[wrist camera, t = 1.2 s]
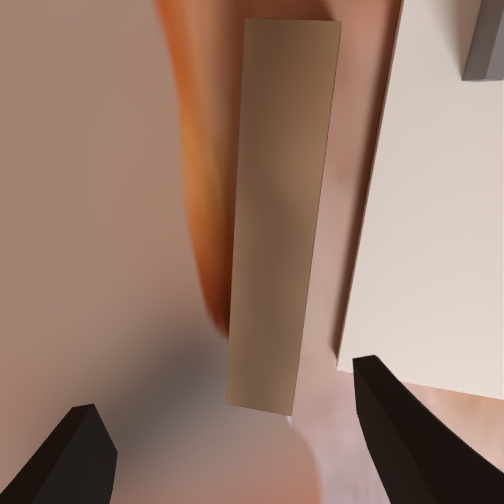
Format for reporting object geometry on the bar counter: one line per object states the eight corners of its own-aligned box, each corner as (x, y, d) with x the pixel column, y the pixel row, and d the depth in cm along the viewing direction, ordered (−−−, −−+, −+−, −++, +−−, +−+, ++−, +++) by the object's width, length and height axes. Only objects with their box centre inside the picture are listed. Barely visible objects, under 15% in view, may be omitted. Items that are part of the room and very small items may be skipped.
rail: (340, 36, 19) (341, 21, 15) (299, 363, 25) (291, 416, 21) (264, 33, 19) (244, 17, 15) (243, 354, 26) (225, 403, 22)
